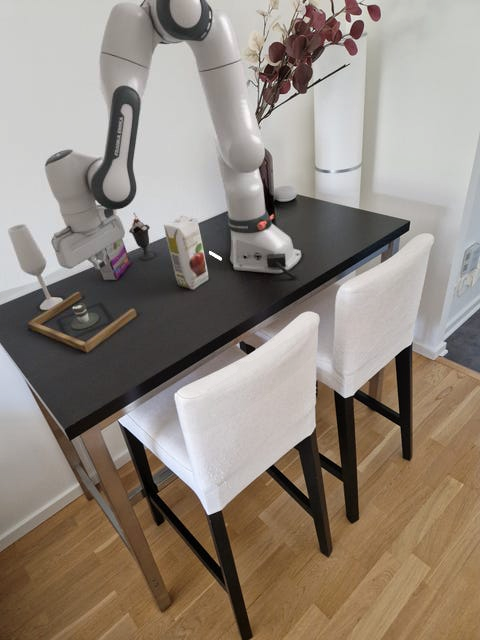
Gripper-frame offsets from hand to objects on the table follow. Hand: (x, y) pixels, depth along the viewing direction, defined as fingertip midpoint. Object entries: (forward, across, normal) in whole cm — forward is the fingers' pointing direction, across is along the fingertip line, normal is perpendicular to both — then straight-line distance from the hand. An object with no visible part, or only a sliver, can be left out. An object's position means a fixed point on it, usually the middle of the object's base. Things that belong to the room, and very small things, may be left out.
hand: (101, 267), depth 116 cm
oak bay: (+11, -11, +1) cm, 16 cm away
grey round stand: (+11, -10, +1) cm, 16 cm away
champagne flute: (+11, -8, +19) cm, 23 cm away
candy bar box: (+12, +14, +14) cm, 22 cm away
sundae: (+12, +26, +11) cm, 30 cm away
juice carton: (+12, +18, -16) cm, 26 cm away
